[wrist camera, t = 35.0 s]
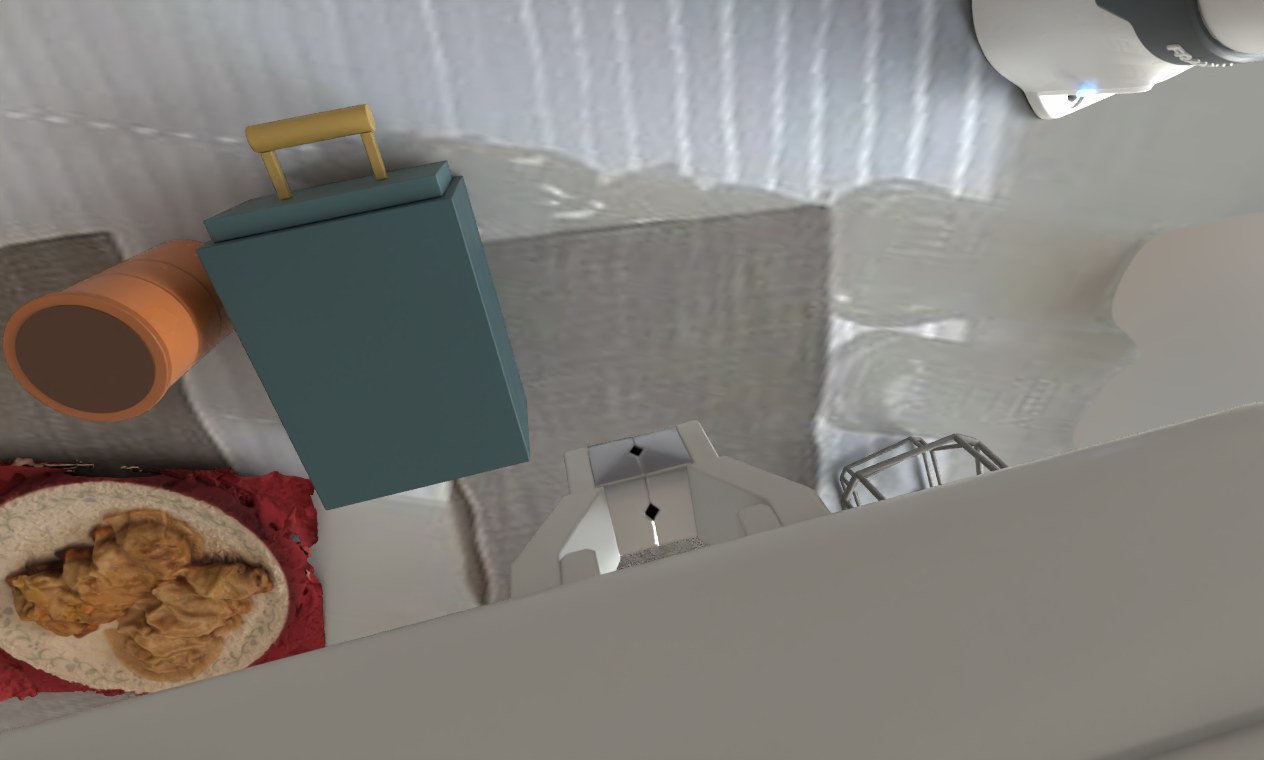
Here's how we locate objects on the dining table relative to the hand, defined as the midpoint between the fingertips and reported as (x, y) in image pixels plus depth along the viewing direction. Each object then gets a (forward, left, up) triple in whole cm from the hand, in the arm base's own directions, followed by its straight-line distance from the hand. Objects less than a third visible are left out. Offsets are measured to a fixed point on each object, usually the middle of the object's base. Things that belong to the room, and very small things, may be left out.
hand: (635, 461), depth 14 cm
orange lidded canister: (+24, +1, -33) cm, 41 cm away
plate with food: (+38, +23, -33) cm, 56 cm away
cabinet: (+12, +6, -33) cm, 36 cm away
